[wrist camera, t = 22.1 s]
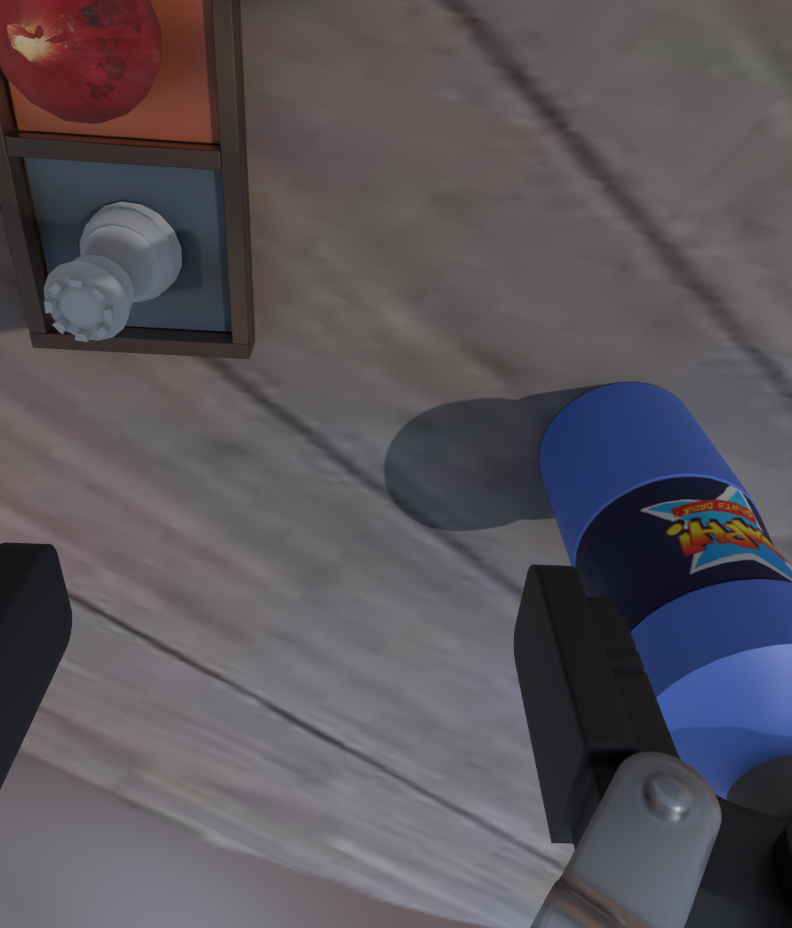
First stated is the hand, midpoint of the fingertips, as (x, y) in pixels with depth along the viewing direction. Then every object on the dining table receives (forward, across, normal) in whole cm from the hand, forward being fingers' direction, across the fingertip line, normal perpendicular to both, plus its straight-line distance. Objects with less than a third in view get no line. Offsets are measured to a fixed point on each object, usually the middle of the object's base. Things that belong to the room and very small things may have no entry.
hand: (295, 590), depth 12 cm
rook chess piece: (+25, +10, +2) cm, 27 cm away
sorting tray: (+26, +10, -2) cm, 28 cm away
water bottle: (+26, -16, +13) cm, 33 cm away
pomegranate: (+25, +10, -6) cm, 28 cm away
